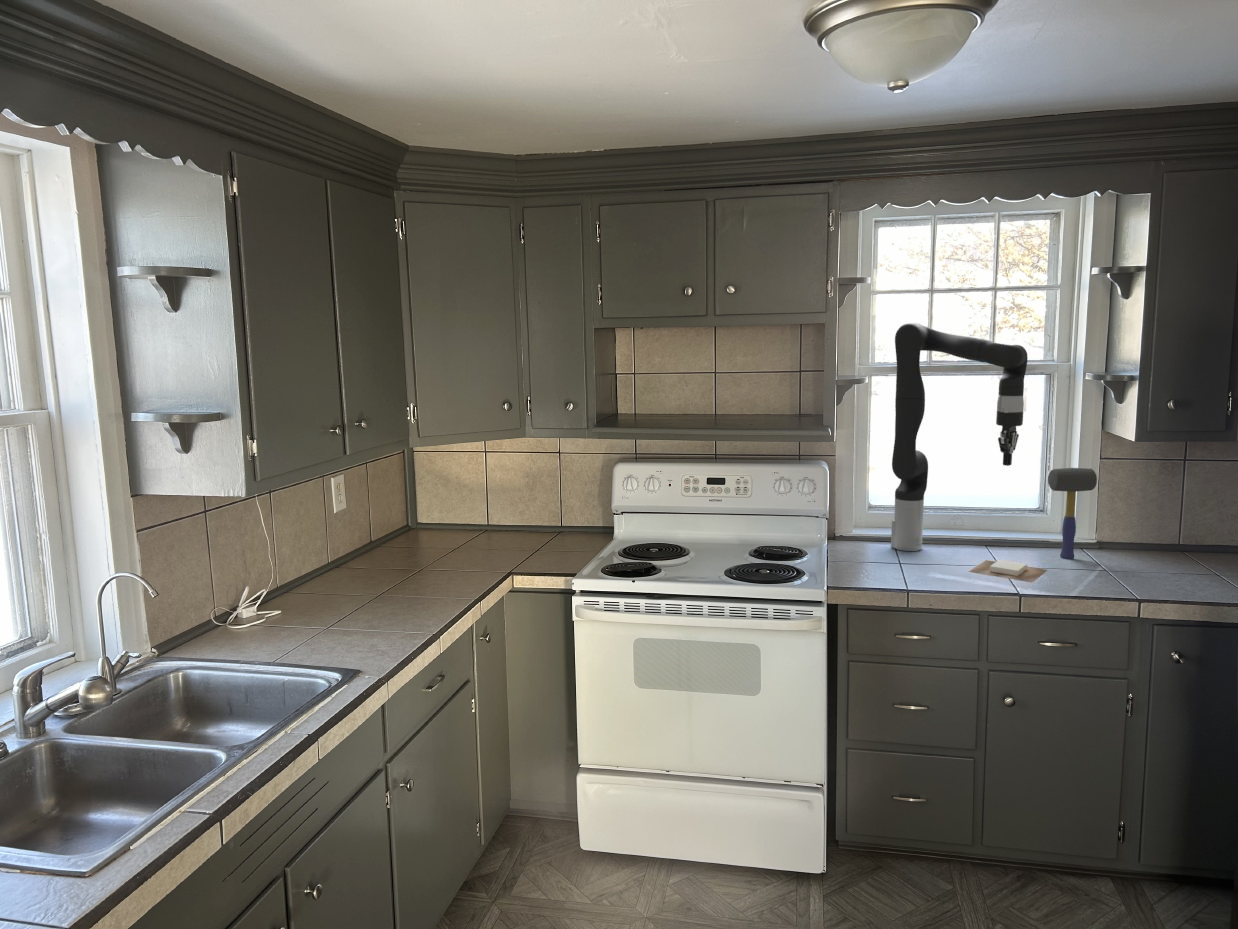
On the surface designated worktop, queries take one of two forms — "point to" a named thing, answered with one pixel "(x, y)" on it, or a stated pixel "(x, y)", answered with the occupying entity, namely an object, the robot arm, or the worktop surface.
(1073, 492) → the rubber mallet
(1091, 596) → the worktop surface
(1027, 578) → the board
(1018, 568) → the block
